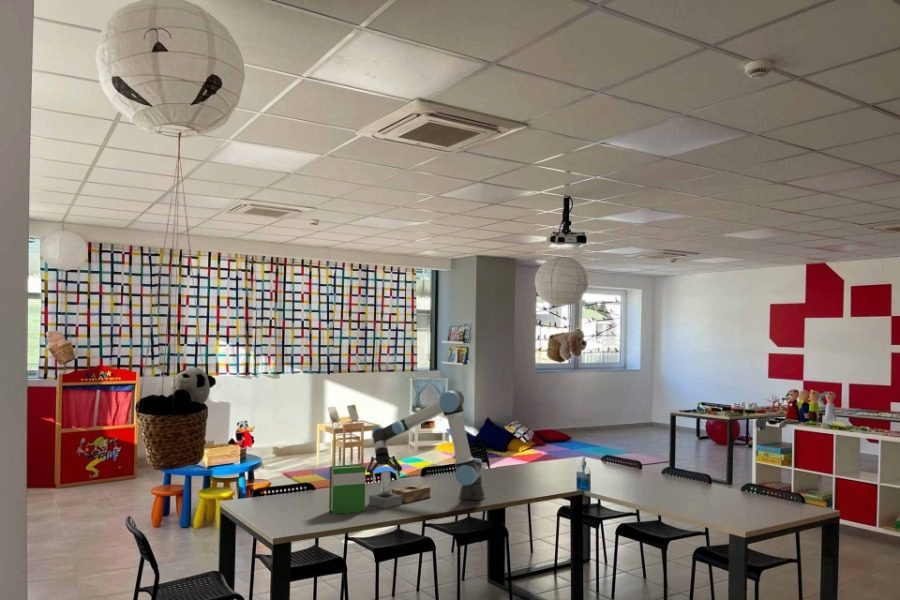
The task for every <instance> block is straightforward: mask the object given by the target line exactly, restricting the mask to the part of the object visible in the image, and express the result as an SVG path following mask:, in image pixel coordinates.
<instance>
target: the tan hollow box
mask: <svg viewBox="0 0 900 600" xmlns="http://www.w3.org/2000/svg"><path fill="white" fill-rule="evenodd" d="M391 493H392V494H396V495H401V496H402V503H403V502H408V503H411V502H410V501H412V502H415V501H414V500H417V501H419V500H418V499H421V500H423V499H422V498H426V497H430V498H431V486H426V485H421V484H410V485H404V486H401V487H396V488H395V487H394V488H391ZM426 499H427V498H426Z"/></svg>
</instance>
